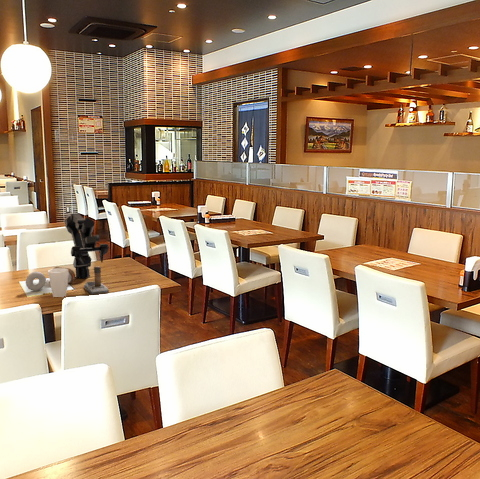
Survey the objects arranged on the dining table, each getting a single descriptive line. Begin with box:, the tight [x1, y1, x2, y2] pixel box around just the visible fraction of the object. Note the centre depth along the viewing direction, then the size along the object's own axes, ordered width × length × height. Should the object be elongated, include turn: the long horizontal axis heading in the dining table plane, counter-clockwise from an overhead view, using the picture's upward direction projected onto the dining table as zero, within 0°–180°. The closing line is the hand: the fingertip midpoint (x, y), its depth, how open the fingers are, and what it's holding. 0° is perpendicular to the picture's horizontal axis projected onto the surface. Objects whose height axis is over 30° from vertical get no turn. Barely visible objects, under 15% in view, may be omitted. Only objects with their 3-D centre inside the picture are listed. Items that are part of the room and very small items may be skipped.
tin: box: [52, 266, 76, 285], centre depth 262 cm, size 15×3×8 cm, turn 71°
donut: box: [25, 271, 47, 292], centre depth 246 cm, size 10×4×10 cm, turn 133°
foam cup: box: [47, 267, 69, 298], centre depth 237 cm, size 10×9×13 cm
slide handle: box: [92, 265, 104, 290], centre depth 245 cm, size 5×5×12 cm
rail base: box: [83, 280, 110, 295], centre depth 249 cm, size 14×10×3 cm
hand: (93, 263), depth 251 cm, fingers open, 9 cm apart
